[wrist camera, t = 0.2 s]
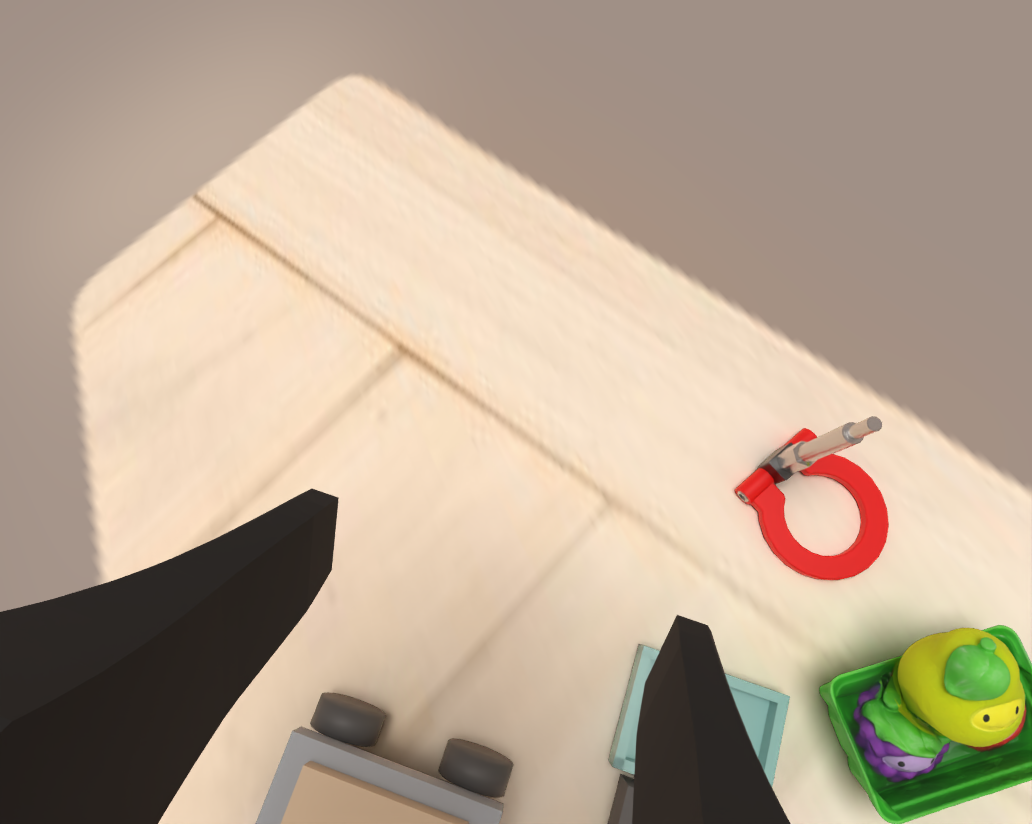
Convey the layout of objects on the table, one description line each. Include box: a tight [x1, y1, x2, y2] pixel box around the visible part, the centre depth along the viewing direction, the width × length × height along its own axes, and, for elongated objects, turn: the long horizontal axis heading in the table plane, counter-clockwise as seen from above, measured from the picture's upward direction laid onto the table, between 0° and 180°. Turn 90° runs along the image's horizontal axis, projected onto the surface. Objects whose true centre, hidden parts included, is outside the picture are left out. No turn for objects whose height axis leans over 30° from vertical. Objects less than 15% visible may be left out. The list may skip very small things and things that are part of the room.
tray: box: [609, 644, 790, 787], centre depth 39 cm, size 7×9×2 cm
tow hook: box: [735, 417, 889, 580], centre depth 38 cm, size 8×13×9 cm
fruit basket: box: [819, 625, 1032, 824], centre depth 35 cm, size 11×9×11 cm
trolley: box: [256, 693, 513, 824], centre depth 36 cm, size 12×10×7 cm
